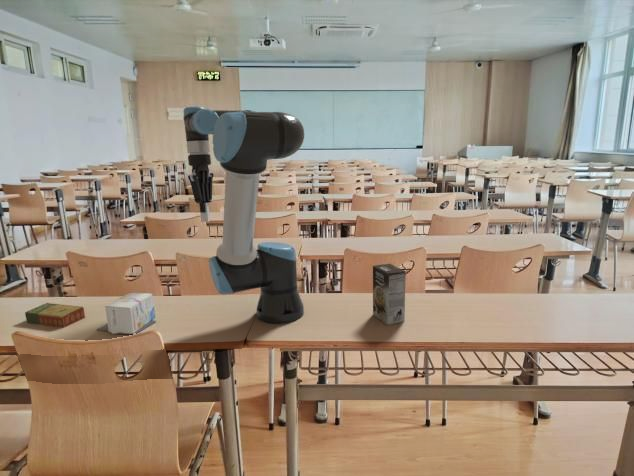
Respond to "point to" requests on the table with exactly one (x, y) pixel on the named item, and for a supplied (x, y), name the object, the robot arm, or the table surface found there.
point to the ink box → (130, 313)
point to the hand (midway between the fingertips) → (205, 221)
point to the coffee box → (389, 293)
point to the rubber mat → (105, 328)
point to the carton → (55, 315)
